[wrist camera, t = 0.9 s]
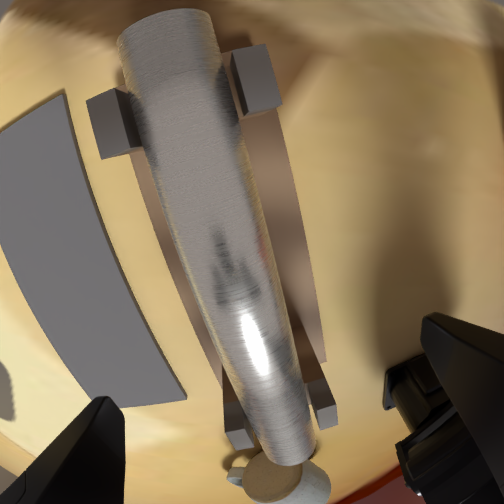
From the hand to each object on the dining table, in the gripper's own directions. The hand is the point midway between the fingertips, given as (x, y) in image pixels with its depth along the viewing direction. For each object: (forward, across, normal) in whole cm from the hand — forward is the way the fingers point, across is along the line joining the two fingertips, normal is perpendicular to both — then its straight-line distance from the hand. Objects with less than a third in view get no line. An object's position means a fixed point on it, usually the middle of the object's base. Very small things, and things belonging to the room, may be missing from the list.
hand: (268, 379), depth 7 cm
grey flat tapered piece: (+12, +12, 0) cm, 17 cm away
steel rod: (+5, 0, 0) cm, 5 cm away
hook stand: (+12, 0, 0) cm, 12 cm away
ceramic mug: (+12, +3, +27) cm, 30 cm away
